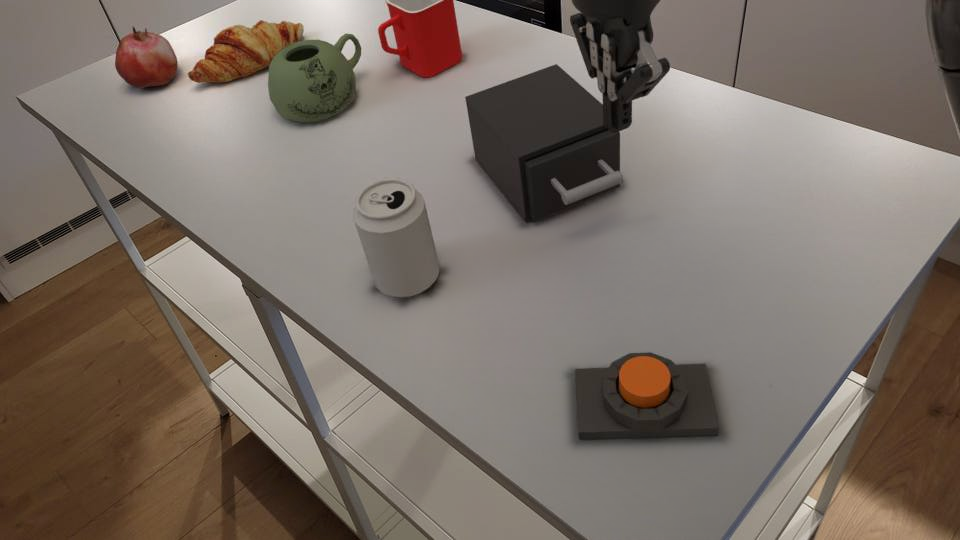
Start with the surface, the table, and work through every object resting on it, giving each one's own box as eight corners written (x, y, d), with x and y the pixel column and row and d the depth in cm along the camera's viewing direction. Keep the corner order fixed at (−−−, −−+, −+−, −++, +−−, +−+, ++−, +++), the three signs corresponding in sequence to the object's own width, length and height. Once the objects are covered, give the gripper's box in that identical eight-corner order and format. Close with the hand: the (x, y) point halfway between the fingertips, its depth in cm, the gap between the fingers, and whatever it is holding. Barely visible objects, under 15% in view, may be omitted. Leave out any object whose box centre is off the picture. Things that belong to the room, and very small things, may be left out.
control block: (704, 369, 71) (707, 349, 69) (718, 437, 66) (721, 417, 64) (575, 374, 72) (574, 355, 70) (579, 441, 67) (577, 422, 65)
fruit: (119, 85, 126) (90, 29, 119) (171, 61, 129) (145, 5, 122) (140, 104, 120) (111, 46, 113) (194, 78, 124) (168, 21, 117)
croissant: (301, 49, 133) (278, 6, 131) (323, 38, 125) (299, -8, 122) (195, 102, 124) (168, 56, 121) (211, 94, 116) (182, 45, 113)
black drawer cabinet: (619, 185, 91) (619, 118, 84) (525, 223, 88) (518, 157, 82) (560, 127, 101) (556, 63, 94) (475, 160, 98) (464, 96, 92)
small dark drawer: (639, 206, 87) (641, 151, 81) (551, 242, 84) (547, 188, 79) (564, 132, 99) (561, 79, 93) (486, 162, 96) (478, 110, 91)
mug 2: (436, 42, 122) (424, -22, 115) (468, 58, 117) (458, -8, 110) (376, 74, 117) (359, 9, 110) (406, 92, 112) (391, 25, 105)
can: (435, 302, 81) (414, 219, 73) (368, 302, 83) (340, 220, 74) (445, 254, 86) (427, 170, 78) (382, 254, 88) (357, 173, 79)
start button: (666, 366, 68) (667, 354, 67) (672, 407, 65) (673, 395, 64) (617, 368, 69) (617, 356, 68) (621, 409, 66) (621, 397, 65)
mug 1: (307, 139, 107) (288, 85, 101) (259, 109, 114) (239, 58, 108) (393, 88, 114) (381, 35, 108) (343, 63, 121) (329, 12, 115)
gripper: (535, -69, 63) (549, 108, 75) (620, -14, 54) (620, 177, 66) (613, -94, 65) (614, 83, 77) (708, -44, 56) (692, 148, 68)
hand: (617, 126), depth 72 cm, fingers closed
